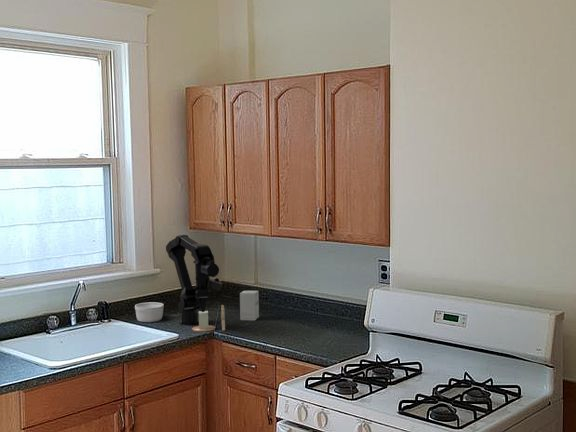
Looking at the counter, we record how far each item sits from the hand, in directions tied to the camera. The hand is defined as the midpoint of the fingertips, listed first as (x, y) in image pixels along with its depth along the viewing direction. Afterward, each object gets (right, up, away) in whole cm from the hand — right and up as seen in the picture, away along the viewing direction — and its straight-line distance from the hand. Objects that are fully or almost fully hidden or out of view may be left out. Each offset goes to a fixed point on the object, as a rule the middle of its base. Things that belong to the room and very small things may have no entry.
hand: (203, 309), depth 327 cm
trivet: (0, -8, +1) cm, 8 cm away
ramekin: (-27, -8, +22) cm, 36 cm away
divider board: (+9, -8, +2) cm, 12 cm away
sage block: (0, -8, +1) cm, 8 cm away
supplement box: (+19, -7, +19) cm, 28 cm away
